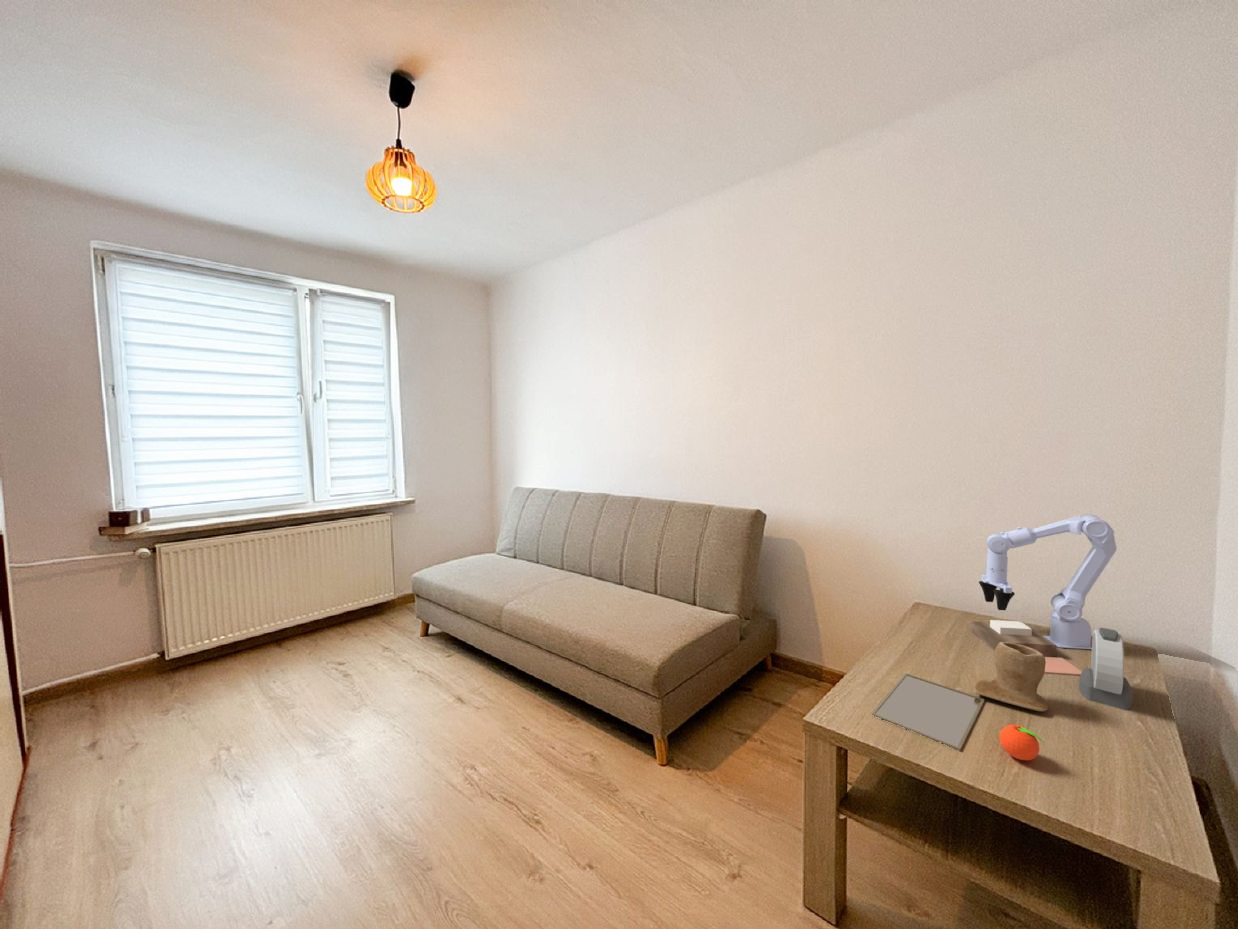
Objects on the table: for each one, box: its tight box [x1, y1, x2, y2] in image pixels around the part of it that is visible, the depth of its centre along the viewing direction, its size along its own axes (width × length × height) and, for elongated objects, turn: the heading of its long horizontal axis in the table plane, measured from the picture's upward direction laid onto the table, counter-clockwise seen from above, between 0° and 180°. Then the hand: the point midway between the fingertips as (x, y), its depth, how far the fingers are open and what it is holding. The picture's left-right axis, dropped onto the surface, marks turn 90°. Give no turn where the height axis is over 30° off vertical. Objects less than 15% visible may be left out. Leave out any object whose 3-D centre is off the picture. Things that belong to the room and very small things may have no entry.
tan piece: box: [973, 642, 1049, 712], centre depth 127 cm, size 15×12×15 cm
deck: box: [971, 621, 1057, 658], centre depth 158 cm, size 16×16×4 cm
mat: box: [1044, 657, 1083, 676], centre depth 144 cm, size 18×10×1 cm, turn 78°
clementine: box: [998, 724, 1047, 761], centre depth 106 cm, size 8×7×7 cm
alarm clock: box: [1078, 627, 1134, 711], centre depth 128 cm, size 16×10×18 cm, turn 137°
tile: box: [989, 619, 1032, 636], centre depth 159 cm, size 9×6×2 cm, turn 78°
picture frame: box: [870, 672, 986, 752], centre depth 125 cm, size 19×1×28 cm
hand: (995, 605), depth 167 cm, fingers open, 7 cm apart
